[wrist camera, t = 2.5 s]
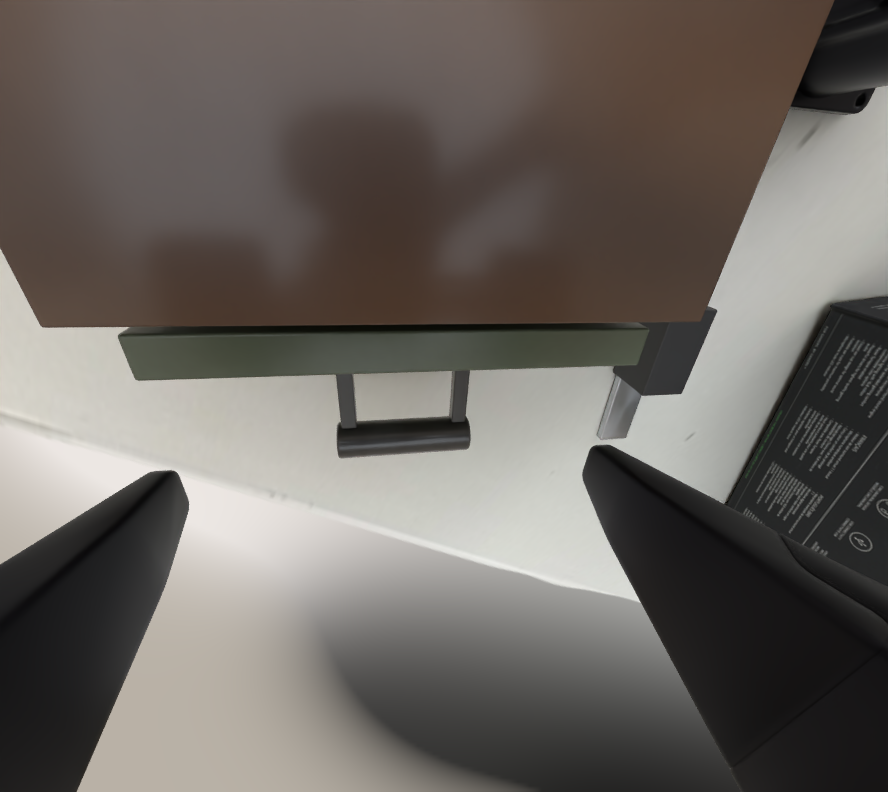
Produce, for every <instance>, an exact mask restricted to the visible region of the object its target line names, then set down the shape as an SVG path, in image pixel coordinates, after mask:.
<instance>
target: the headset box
mask: <svg viewBox="0 0 888 792" xmlns="http://www.w3.org/2000/svg"><path fill="white" fill-rule="evenodd" d="M830 307H831V309H832V310H831V311H830V313H829V315H828V317H827V319H826V320H825V322H824V324H823V326H822V328H821V330H820V332H819V334H818V336H817V338H816V339H815V341H814V343H813V345H812V347H811V349H810V351H809V352H808V354H807V356H806V358H805V360H804V362H803V364H802V365H801V367H800V369H799V371H798V373H797V375H796V376H795V378H794V380H793V382H792V384H791V386H790V388H789V390H788V391H787V393H786V395H785V397H784V399H783V401H782V402H781V404H780V406H779V408H778V410H777V412H776V414H775V416H774V418H773V420H772V421H771V423H770V425H769V427H768V429H767V431H766V433H765V434H764V436H763V438H762V440H761V442H760V444H759V446H758V447H757V449H756V451H755V453H754V455H753V457H752V459H751V460H750V462H749V464H748V466H747V468H746V470H745V472H744V474H743V475H742V477H741V479H740V481H739V483H738V485H737V487H736V489H735V490H734V492H733V494H732V496H731V498H730V500H729V502H728V504H727V506H728V507H730V508H732V509H734V510H736V511H738V512H740V513H742V514H744V515H746V516H748V517H750V518H752V519H754V520H755V521H757V522H759V523H761V524H763V525H765V526H767V527H769V528H771V529H773V530H775V531H776V532H777V533H778V534H783V535H785V536H787V537H788V538H790V539H792V540H794V541H796V542H798V543H800V544H802V545H804V546H806V547H808V548H810V549H812V550H814V551H816V552H818V553H820V554H822V555H824V556H826V557H828V558H830V559H831V560H833V561H835V562H837V563H839V564H842V565H844V566H846V567H848V568H850V569H852V570H854V571H856V572H858V573H860V574H862V575H865V576H867V577H869V578H871V579H873V580H875V581H877V582H879V583H881V584H883V585H886V586H888V297H881V298H872V299H865V300H858V301H849V302H841V303H835V304H832V305H831V306H830Z"/></svg>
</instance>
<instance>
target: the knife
mask: <svg viewBox="0 0 888 792" xmlns="http://www.w3.org/2000/svg"><path fill="white" fill-rule="evenodd" d="M716 313H717V310H716V309H713V308H711V307H708V306H707V308H706V310H705V313H704V315H703V318H702V320H701V321H700V322H638V323H640V324H642V325H643V326H645V327H647V328H649V333H648V336H647V339H646V342H645V345H644V348H643V350H642V353H641V356H640V359H639V362H638V364H637V365H623V366H615V368H614V371H613V373H614V374H616V378H615V381H614V384H613V387H612V390H611V393H610V397H609V400H608V403H607V406H606V409H605V412H604V415H603V418H602V421H601V425H600V428H599V431H598V434H597V436H598V438H599V439H600V440H604V439H618V438H626V436H627V433H628V431H629V428H630V425H631V422H632V420H633V417H634V414H635V412H636V409H637V406H638V404H639V401H640V398H641V395H642V396H648V395H669V394H681V393H682V391H683V389H684V387H685V384H686V382H687V380H688V378H689V375H690V373H691V371H692V368H693V366H694V364H695V361H696V359H697V357H698V354H699V352H700V350H701V347H702V345H703V343H704V340H705V338H706V336H707V334H708V331H709V329H710V327H711V324H712V322H713V320H714V317H715V315H716Z"/></svg>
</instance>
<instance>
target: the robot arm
mask: <svg viewBox="0 0 888 792" xmlns="http://www.w3.org/2000/svg"><path fill="white" fill-rule="evenodd" d="M887 85H888V0H834V2H833V5H832V7H831V10H830V12H829V14H828V17H827V19H826V22H825V24H824V26H823V29H822V31H821V34H820V36H819V38H818V41H817V43H816V46H815V48H814V50H813V53H812V55H811V58H810V60H809V63H808V65H807V67H806V70H805V72H804V75H803V77H802V79H801V82H800V84H799V87H798V89H797V91H796V94H795V96H794V99H793V101H792V103H791V106H790V108H789V109H798V110H807V111H815V112H824V113H833V114H842V115H848V114H855V113H859V112H860V111H862V110H863V109H864V108H865V107H866V105H867V104H868V102H869V100H870V98H871V96H872V94H873V92H874V90H875V88H876V87H881V86H887ZM582 476H583V481H584V484H585V486H586V489H587V491H588V494H589V496H590V499H591V501H592V503H593V506H594V508H595V511H596V513H597V516H598V518H599V521H600V523H601V525H602V528H603V530H604V532H605V535H606V537H607V539H608V541H609V543H610V545H611V547H612V549H613V551H614V553H615V555H616V556H617V558H618V560H619V562H620V564H621V566H622V568H623V570H624V571H625V573H626V575H627V577H628V579H629V581H630V583H631V585H632V587H633V588H634V590H635V592H636V594H637V596H638V598H639V600H640V602H641V603H642V605H643V607H644V609H645V611H646V613H647V615H648V616H649V618H650V620H651V622H652V624H653V626H654V628H655V630H656V632H657V634H658V635H659V637H660V639H661V641H662V643H663V645H664V647H665V649H666V651H667V652H668V654H669V656H670V658H671V660H672V662H673V664H674V666H675V667H676V669H677V671H678V673H679V675H680V677H681V679H682V680H683V682H684V684H685V686H686V688H687V690H688V692H689V694H690V696H691V698H692V699H693V701H694V703H695V705H696V707H697V709H698V710H699V713H700V714H701V716H702V718H703V720H704V722H705V724H706V726H707V728H708V729H709V731H710V733H711V735H712V737H713V739H714V741H715V743H716V745H717V746H718V748H719V750H720V752H721V754H722V756H723V758H724V760H725V761H726V763H727V765H728V766H729V768H731V769H730V771H731V773H732V775H733V777H734V779H735V781H736V783H737V785H738V787H739V788H740V790H741V792H888V586H886V585H883V584H881V583H879V582H877V581H875V580H873V579H871V578H869V577H867V576H865V575H862V574H860V573H858V572H856V571H854V570H852V569H850V568H848V567H846V566H844V565H842V564H839V563H837V562H835V561H833V560H831V559H830V558H828V557H826V556H824V555H822V554H820V553H818V552H816V551H814V550H812V549H810V548H808V547H806V546H804V545H802V544H800V543H798V542H796V541H794V540H792V539H790V538H788V537H787V536H785V535H783V534H778V533H777V532H776V531H775V530H773V529H771V528H769V527H767V526H765V525H763V524H761V523H759V522H757V521H755V520H754V519H752V518H750V517H748V516H746V515H744V514H742V513H740V512H738V511H736V510H734V509H732V508H730V507H728V506H727V505H725V504H723V503H721V502H719V501H717V500H715V499H713V498H711V497H709V496H707V495H705V494H703V493H701V492H700V491H698V490H696V489H694V488H692V487H690V486H688V485H686V484H684V483H682V482H680V481H678V480H676V479H675V478H673V477H671V476H669V475H667V474H665V473H663V472H661V471H659V470H657V469H655V468H653V467H651V466H649V465H648V464H646V463H644V462H642V461H640V460H638V459H636V458H634V457H632V456H630V455H628V454H626V453H624V452H622V451H621V450H619V449H617V448H615V447H613V446H611V445H595V446H593V447H592V448H591V449H590V451H589V454H588V457H587V460H586V463H585V466H584V469H583V474H582ZM188 510H189V501H188V497H187V495H186V492H185V490H184V487H183V485H182V482H181V480H180V477H179V475H178V473H177V472H175V471H172V470H168V471H154V472H150V473H148V474H146V475H145V476H143V477H141V478H140V479H138V480H136V481H135V482H133V483H131V484H130V485H128V486H126V487H125V488H123V489H122V490H120V491H118V492H117V493H115V494H114V495H112V496H110V497H109V498H107V499H105V500H104V501H102V502H101V503H99V504H97V505H96V506H94V507H93V508H91V509H89V510H88V511H86V512H84V513H83V514H81V515H80V516H78V517H76V518H75V519H73V520H72V521H70V522H68V523H67V524H65V525H63V526H62V527H60V528H59V529H57V530H55V531H54V532H52V533H51V534H49V535H47V536H46V537H44V538H42V539H41V540H39V541H38V542H36V543H34V544H33V545H31V546H30V547H28V548H26V549H25V550H23V551H21V552H20V553H18V554H17V555H15V556H14V557H12V558H10V559H8V560H7V561H5V562H4V563H2V564H0V792H77V789H78V787H79V785H80V783H81V780H82V778H83V776H84V773H85V771H86V769H87V766H88V764H89V762H90V759H91V757H92V755H93V752H94V750H95V748H96V745H97V743H98V741H99V739H100V736H101V734H102V732H103V729H104V727H105V725H106V722H107V720H108V718H109V715H110V713H111V711H112V708H113V706H114V704H115V702H116V699H117V697H118V695H119V692H120V690H121V688H122V685H123V683H124V681H125V679H126V676H127V674H128V672H129V669H130V667H131V665H132V662H133V660H134V658H135V655H136V653H137V651H138V648H139V646H140V644H141V641H142V639H143V637H144V635H145V632H146V630H147V628H148V625H149V623H150V621H151V618H152V616H153V614H154V611H155V609H156V607H157V604H158V602H159V600H160V597H161V595H162V592H163V590H164V587H165V585H166V582H167V579H168V576H169V573H170V570H171V566H172V563H173V560H174V557H175V553H176V550H177V547H178V544H179V540H180V537H181V534H182V531H183V527H184V524H185V521H186V518H187V514H188Z"/></svg>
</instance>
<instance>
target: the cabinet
mask: <svg viewBox="0 0 888 792" xmlns="http://www.w3.org/2000/svg"><path fill="white" fill-rule="evenodd" d="M833 2H834V0H0V248H1V250H2V252H3V254H4V256H5V258H6V260H7V262H8V264H9V266H10V267H11V269H12V271H13V273H14V275H15V277H16V279H17V281H18V283H19V285H20V287H21V289H22V291H23V293H24V295H25V296H26V298H27V300H28V302H29V304H30V306H31V308H32V310H33V312H34V314H35V316H36V318H37V320H38V322H39V324H40V325H41V326H42V327H45V328H50V327H168V326H285V325H403V324H520V323H638V322H700V321H701V320H702V318H703V315H704V313H705V310H706V308H707V306H708V303H709V301H710V298H711V296H712V294H713V291H714V289H715V286H716V284H717V281H718V279H719V277H720V274H721V272H722V269H723V267H724V265H725V262H726V260H727V257H728V255H729V253H730V250H731V248H732V245H733V243H734V241H735V238H736V236H737V233H738V231H739V229H740V226H741V224H742V221H743V219H744V217H745V214H746V212H747V209H748V207H749V204H750V202H751V200H752V197H753V195H754V192H755V190H756V188H757V185H758V183H759V180H760V178H761V176H762V173H763V171H764V168H765V166H766V164H767V161H768V159H769V156H770V154H771V152H772V149H773V147H774V144H775V142H776V140H777V137H778V135H779V132H780V130H781V127H782V125H783V123H784V120H785V118H786V115H787V113H788V111H789V108H790V106H791V103H792V101H793V99H794V96H795V94H796V91H797V89H798V87H799V84H800V82H801V79H802V77H803V75H804V72H805V70H806V67H807V65H808V63H809V60H810V58H811V55H812V53H813V50H814V48H815V46H816V43H817V41H818V38H819V36H820V34H821V31H822V29H823V26H824V24H825V22H826V19H827V17H828V14H829V12H830V10H831V7H832V5H833Z"/></svg>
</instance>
